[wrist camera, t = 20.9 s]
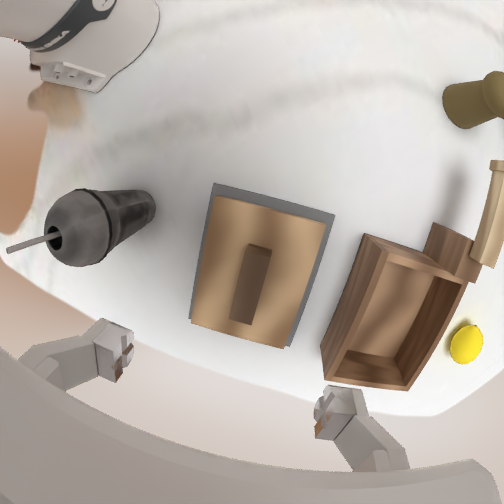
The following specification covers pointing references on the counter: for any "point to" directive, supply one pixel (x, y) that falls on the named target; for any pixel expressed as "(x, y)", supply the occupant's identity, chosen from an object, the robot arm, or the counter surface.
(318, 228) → the lid
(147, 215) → the beverage cup
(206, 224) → the mat
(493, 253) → the light wooden bar
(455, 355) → the lemon
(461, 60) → the counter surface
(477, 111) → the olive chess pawn
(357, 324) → the brown wooden box
